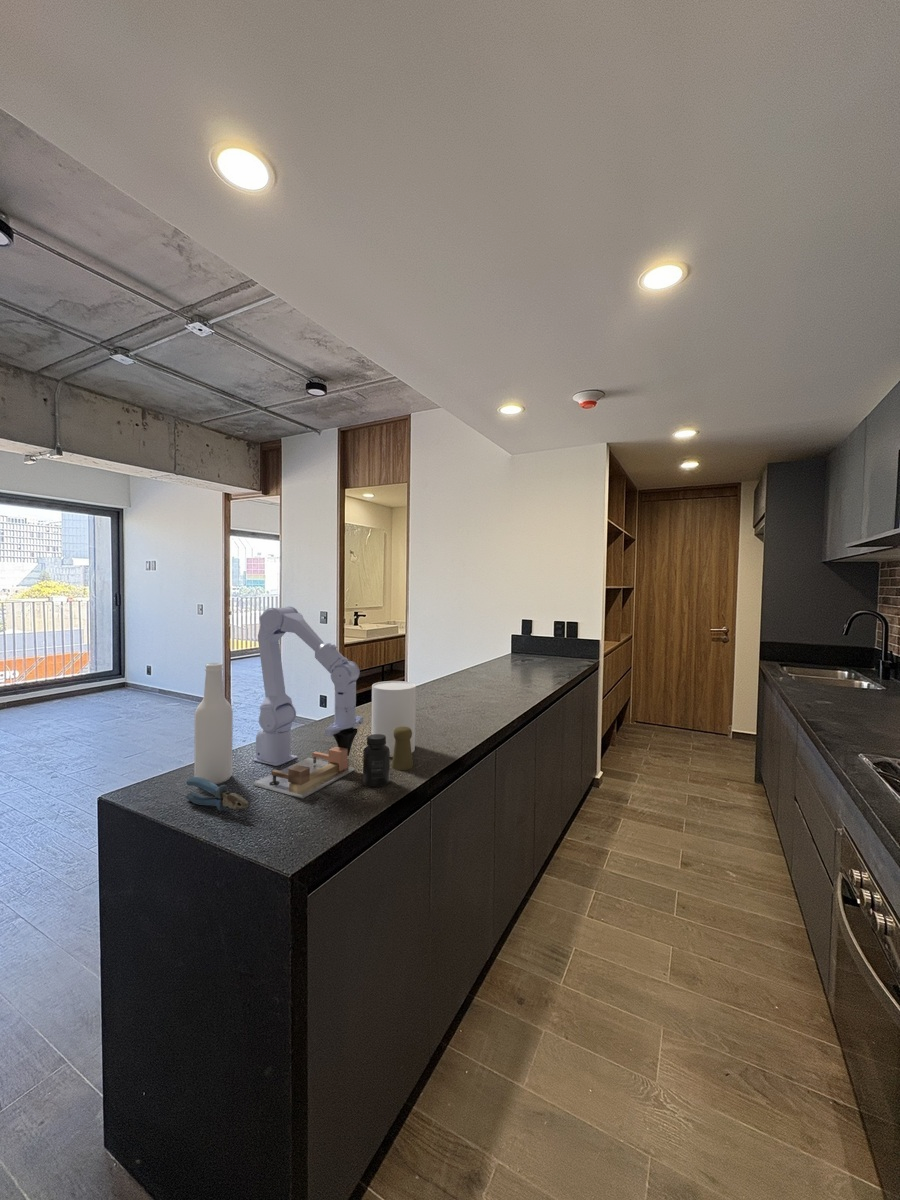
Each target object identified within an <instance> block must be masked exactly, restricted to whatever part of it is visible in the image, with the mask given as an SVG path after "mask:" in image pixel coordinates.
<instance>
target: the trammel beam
mask: <svg viewBox="0 0 900 1200" xmlns="http://www.w3.org/2000/svg"><path fill="white" fill-rule="evenodd" d="M349 760H350V759H349V758H347V761H348V766H349V767H350V765H349V763H350V761H349ZM337 772H339V764H338V763H333V762H332V763H330V764H328V765H326V766H324V767H322V768H320V769H318V770H316V771H314V772H312V773H310V768H308V767H304V766H299V765H296V766H294V767H292V768H290V769H288V773H287V772H283V771H280V770H278V769H274V770H272V771H271V773H270V775H273V784H275V783H276V776H277V777H281V778H285V779H288V782H290V783H289V792H292V793H296V794H297V793H299V792H301V791H303V790H305V789H307V788H309V787H310V786H312V785H314V784H316V783H318V782H320V781H322V780H324V779H326V778H328V777H329V776H331V775H333V774H335V773H337Z"/></svg>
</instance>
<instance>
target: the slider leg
mask: <svg viewBox="0 0 900 1200" xmlns="http://www.w3.org/2000/svg"><path fill="white" fill-rule="evenodd" d="M311 756H312V757H311V758H313V763H316V759H321V760H328V761H327V762H328V764H330V763H332V762H333V763H338V764H339V771H342V770H344V769H346V768H348V761H347V759H348V756H347V749H346V748H341V747H338V746H333V747H331V748H330V749H328V753H323V752H320V751H314V752H312V753H311Z"/></svg>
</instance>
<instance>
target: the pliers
mask: <svg viewBox="0 0 900 1200" xmlns="http://www.w3.org/2000/svg"><path fill="white" fill-rule="evenodd" d="M186 785H187V786H191V787H197V788H200V789H202V790H204V791H206V792H208V793H210V794H212V795H214V796H204V795H202V794H199V793H197V792H195V791H189V792H188V793H187V794H186V799H187V800H188V801H190V803H191V802H192V803H193V804H196V805H200V806H216V808H217V810H218V811H224V810H225V809H226V808H227V807H228V808H229V809H232V810H239V809H246V808H248V807H250V802H249V801H248V800H247V799H245V798H244V797H243V796H242V795H240V794H239V793H238V794H237V793H234V792H230V791H228V787H227V785H225V784H221V785H220V786H218V784H216V785H215V784H214V783H212V782H211V781H209V780H207V779H204V778H201V777H194V776H192V777H189V778H188V779H187V780H186Z"/></svg>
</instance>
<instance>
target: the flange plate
mask: <svg viewBox="0 0 900 1200" xmlns="http://www.w3.org/2000/svg"><path fill="white" fill-rule="evenodd" d="M296 765H299V766H304V767H308V768H310V773H312V772H314V771H316V770H318V769H320V768H322V767H324V766H326V765H328V761H325V760H323V759H318V758H316V763H313V757H307V758H305V759H303V760H301V761H298V762H296V763H294V764H291V765H289V766H287V767H284V768H282V769H281V770H279V771H283V772H287V773H288V769H290V768H292V767H294V766H296ZM354 771H355V767H352V766H350V765H349V766H348V768H346V769H344V770H342V771H339V772H337V773H335V774H333V775H331V776H329V777H328V778H326V779H324V780H322V781H320V782H318V783H316V784H314V785H312V786H310V787H309V788H307V789H305V790H303V791H301V792H299V793H297V794H296V793H292V792H289V783H290V782H288V779H285V778H281V777H277V776H276V783H275V784H273V775H271V774H269V775H266V776H264V777H262V778H260V779H257V780H256V781H254V782H253V786H254V787H258V788H261V789H265V790H269V791H274V792H276V793H280V794H284V795H288V796H292V797H296V798H300V799H304V798H306V797H308V796H310V795H311V794H314V793H315V792H317V791H319V790H322V789H323V788H325V787H326V786H328V785H330V784H332V783H333V782H335V781H338V780H339V779H341V778H342V777H345V776H346V775H348V774H350V773H352V772H354Z"/></svg>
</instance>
